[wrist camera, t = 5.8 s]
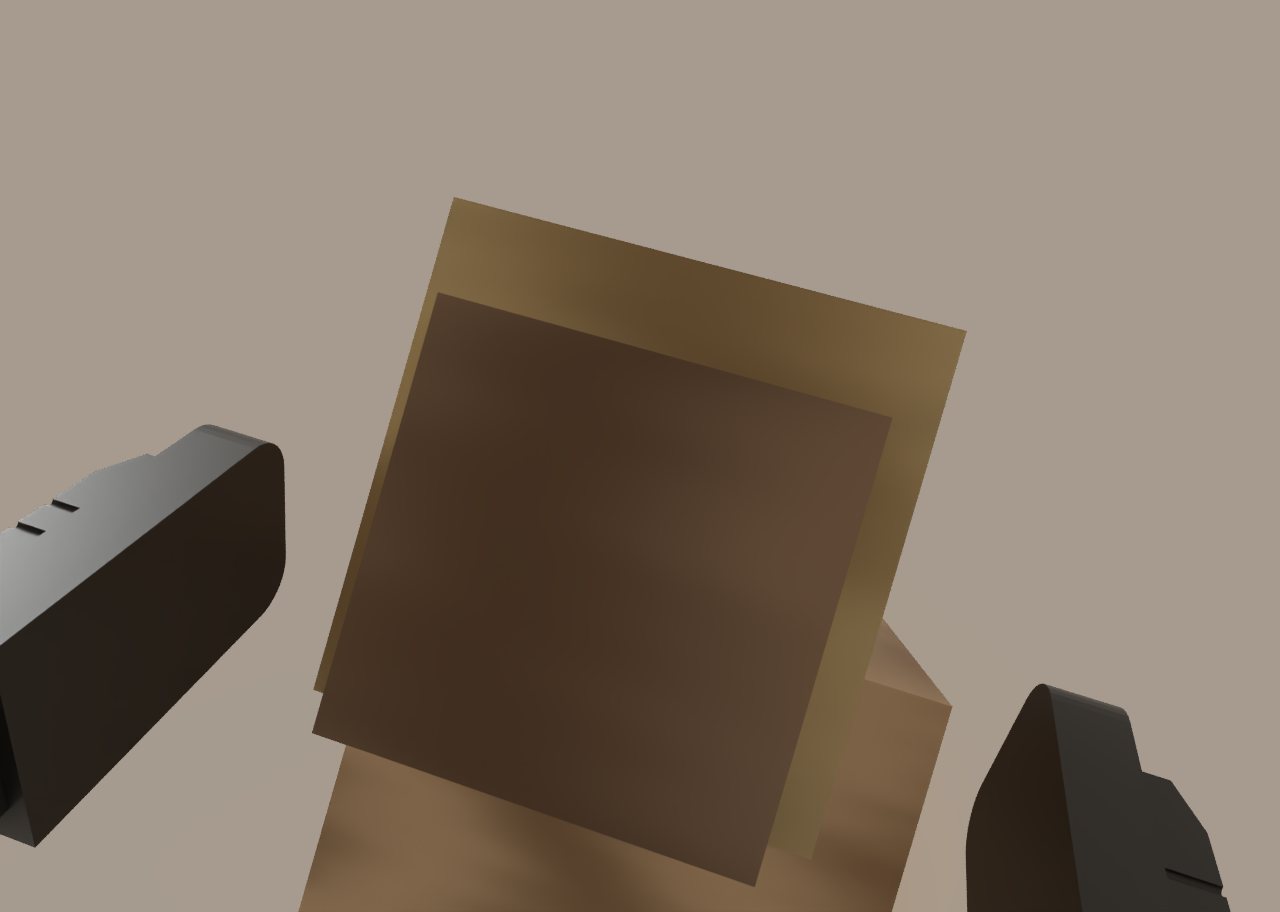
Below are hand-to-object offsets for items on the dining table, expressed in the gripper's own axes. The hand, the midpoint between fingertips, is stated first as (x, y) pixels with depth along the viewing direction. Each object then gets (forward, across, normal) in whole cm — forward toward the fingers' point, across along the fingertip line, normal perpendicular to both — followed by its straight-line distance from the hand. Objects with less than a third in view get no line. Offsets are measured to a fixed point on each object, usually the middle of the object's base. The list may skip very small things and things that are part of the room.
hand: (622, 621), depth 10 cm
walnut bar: (+10, 0, +7) cm, 12 cm away
